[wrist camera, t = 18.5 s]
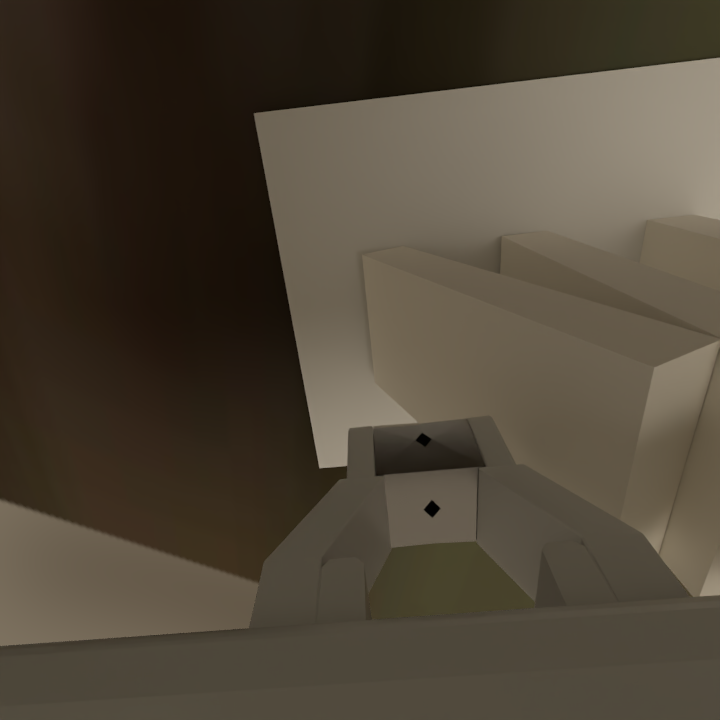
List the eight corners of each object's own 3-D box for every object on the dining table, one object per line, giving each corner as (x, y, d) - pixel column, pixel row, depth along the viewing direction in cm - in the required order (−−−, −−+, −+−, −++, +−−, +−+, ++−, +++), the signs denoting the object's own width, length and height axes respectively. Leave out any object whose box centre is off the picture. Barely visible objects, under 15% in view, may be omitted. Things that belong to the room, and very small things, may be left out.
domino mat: (320, 462, 20) (319, 468, 20) (256, 113, 14) (253, 112, 13) (982, 403, 19) (994, 408, 18) (1240, -3, 13) (1266, -8, 12)
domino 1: (374, 382, 17) (603, 590, 9) (361, 254, 15) (654, 367, 6) (410, 371, 17) (658, 556, 9) (403, 245, 15) (721, 339, 7)
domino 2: (496, 365, 17) (697, 601, 8) (501, 236, 15) (785, 367, 6) (535, 359, 17) (777, 587, 8) (547, 230, 15) (894, 352, 6)
